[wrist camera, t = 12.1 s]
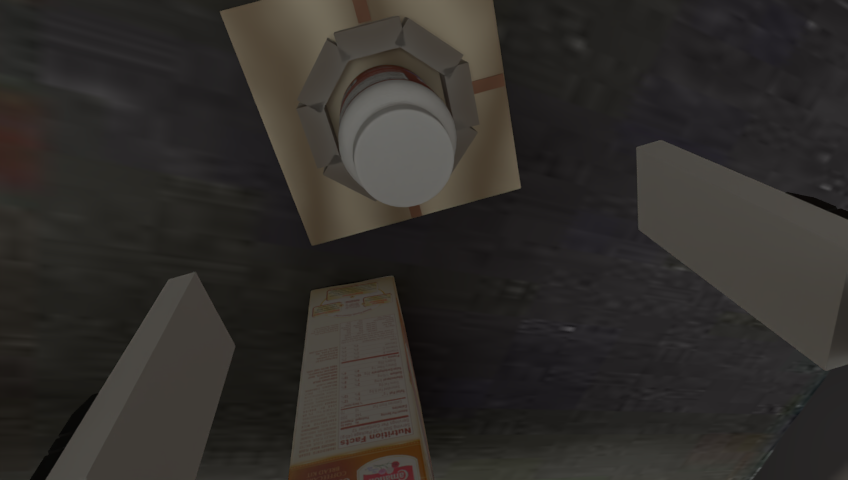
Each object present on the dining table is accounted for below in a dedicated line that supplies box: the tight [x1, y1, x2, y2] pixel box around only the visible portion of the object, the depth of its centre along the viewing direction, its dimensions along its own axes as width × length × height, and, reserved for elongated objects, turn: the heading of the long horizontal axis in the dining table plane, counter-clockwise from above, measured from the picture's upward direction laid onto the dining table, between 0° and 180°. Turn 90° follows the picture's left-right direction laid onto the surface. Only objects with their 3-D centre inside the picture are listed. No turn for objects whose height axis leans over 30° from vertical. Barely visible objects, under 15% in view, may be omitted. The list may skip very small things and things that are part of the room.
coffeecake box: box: [288, 276, 434, 480], centre depth 33 cm, size 15×7×20 cm, turn 7°
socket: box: [220, 0, 521, 246], centre depth 31 cm, size 16×16×3 cm
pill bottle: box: [338, 65, 457, 207], centre depth 27 cm, size 6×6×11 cm
